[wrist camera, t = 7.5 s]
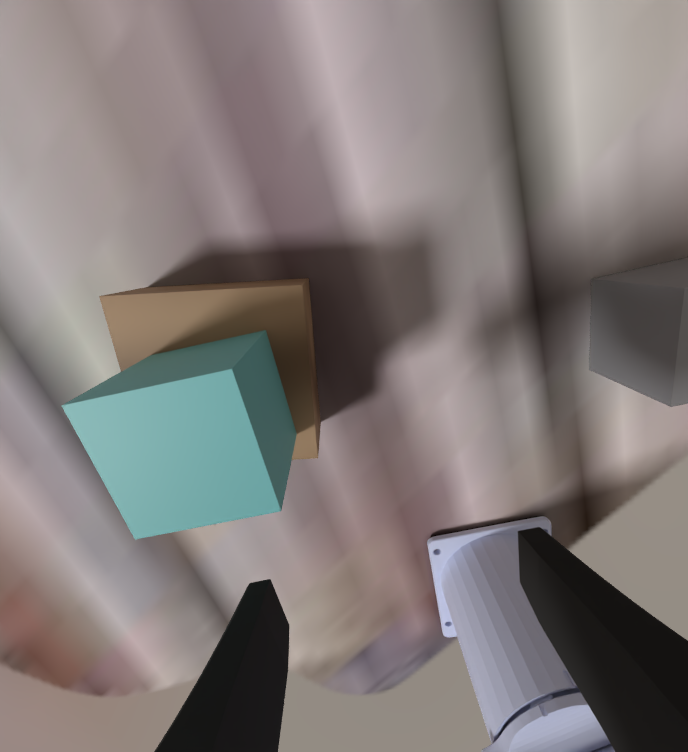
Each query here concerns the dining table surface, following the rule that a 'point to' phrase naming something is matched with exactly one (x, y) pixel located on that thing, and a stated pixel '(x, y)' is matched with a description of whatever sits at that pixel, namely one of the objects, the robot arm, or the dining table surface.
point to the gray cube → (643, 330)
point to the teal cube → (191, 435)
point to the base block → (227, 333)
